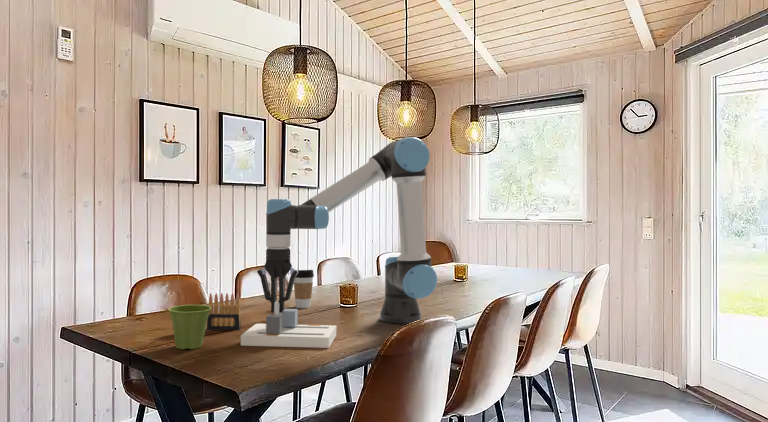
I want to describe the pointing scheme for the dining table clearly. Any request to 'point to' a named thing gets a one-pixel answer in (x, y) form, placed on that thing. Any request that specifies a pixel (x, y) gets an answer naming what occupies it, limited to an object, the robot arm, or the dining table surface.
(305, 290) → the coffee cup
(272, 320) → the tab front
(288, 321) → the tab back
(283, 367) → the dining table surface
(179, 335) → the plant pot
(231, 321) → the ammunition clip
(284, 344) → the switch panel
